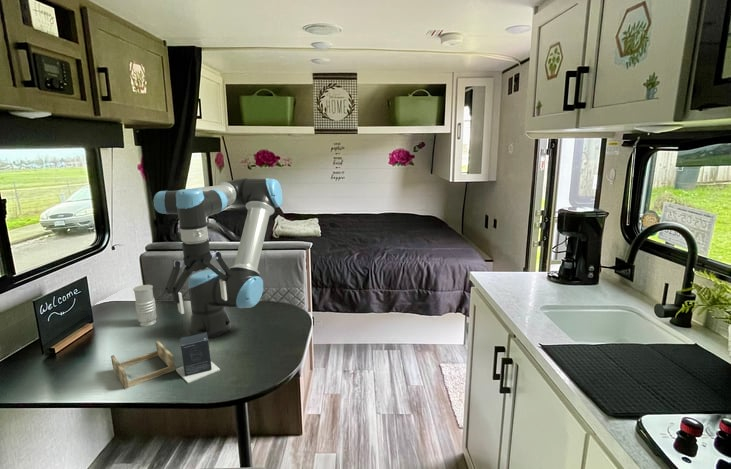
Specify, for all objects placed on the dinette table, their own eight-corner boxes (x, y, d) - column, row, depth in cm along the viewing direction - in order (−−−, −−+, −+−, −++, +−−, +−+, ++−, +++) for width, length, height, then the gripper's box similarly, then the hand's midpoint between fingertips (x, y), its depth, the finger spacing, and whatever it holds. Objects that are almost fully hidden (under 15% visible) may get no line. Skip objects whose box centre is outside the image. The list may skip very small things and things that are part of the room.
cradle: (113, 370, 127) (110, 355, 126) (160, 353, 136) (158, 340, 135) (125, 388, 117) (123, 373, 116) (175, 369, 126) (173, 355, 125)
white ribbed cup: (161, 321, 161) (156, 286, 158) (144, 328, 156) (139, 292, 152) (151, 317, 165) (147, 283, 162) (134, 324, 159) (129, 288, 156)
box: (210, 361, 130) (206, 331, 128) (212, 370, 125) (208, 339, 123) (183, 367, 127) (179, 337, 124) (184, 376, 122) (180, 345, 119)
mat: (175, 370, 126) (175, 369, 126) (206, 358, 133) (206, 357, 133) (187, 383, 119) (187, 382, 119) (220, 370, 126) (220, 369, 126)
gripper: (154, 251, 109) (165, 322, 115) (239, 235, 126) (246, 297, 131) (146, 246, 115) (157, 314, 120) (229, 231, 131) (235, 291, 137)
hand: (203, 305), depth 126 cm, fingers open, 13 cm apart
